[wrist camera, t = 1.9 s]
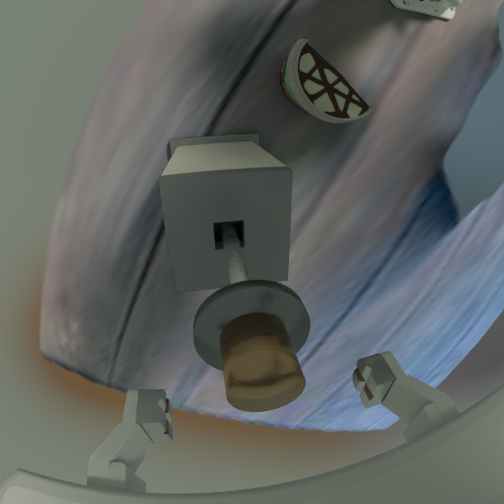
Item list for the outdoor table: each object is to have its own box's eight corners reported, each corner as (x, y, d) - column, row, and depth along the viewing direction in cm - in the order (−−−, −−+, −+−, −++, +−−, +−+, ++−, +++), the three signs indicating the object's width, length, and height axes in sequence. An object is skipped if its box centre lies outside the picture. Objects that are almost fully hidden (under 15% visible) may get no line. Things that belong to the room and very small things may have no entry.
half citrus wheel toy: (251, 79, 34) (267, 71, 25) (280, 50, 32) (304, 35, 24) (315, 135, 39) (346, 146, 31) (341, 107, 38) (377, 111, 29)
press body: (257, 133, 38) (304, 157, 21) (258, 212, 44) (297, 288, 27) (170, 139, 36) (143, 169, 19) (178, 219, 42) (167, 302, 25)
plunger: (261, 176, 26) (367, 314, 9) (262, 245, 29) (332, 413, 13) (183, 182, 25) (158, 343, 8) (191, 251, 28) (194, 436, 12)
